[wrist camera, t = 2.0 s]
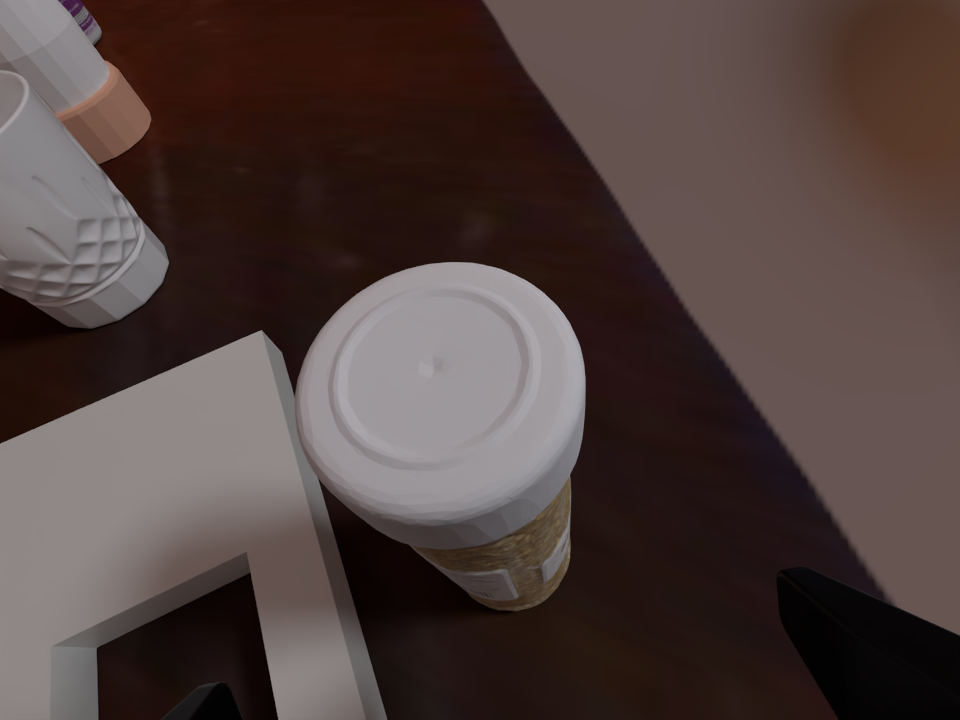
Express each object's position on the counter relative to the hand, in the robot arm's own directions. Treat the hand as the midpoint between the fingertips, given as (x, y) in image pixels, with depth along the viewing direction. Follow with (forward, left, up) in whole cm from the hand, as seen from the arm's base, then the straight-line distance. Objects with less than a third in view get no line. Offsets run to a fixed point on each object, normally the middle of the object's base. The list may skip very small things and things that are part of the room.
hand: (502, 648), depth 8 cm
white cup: (+27, +13, -11) cm, 32 cm away
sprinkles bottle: (+4, -1, -11) cm, 11 cm away
